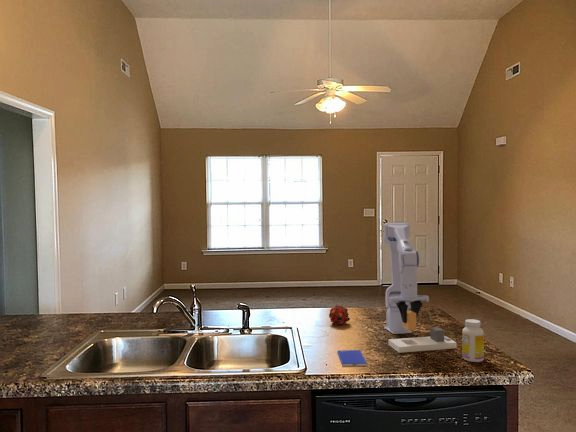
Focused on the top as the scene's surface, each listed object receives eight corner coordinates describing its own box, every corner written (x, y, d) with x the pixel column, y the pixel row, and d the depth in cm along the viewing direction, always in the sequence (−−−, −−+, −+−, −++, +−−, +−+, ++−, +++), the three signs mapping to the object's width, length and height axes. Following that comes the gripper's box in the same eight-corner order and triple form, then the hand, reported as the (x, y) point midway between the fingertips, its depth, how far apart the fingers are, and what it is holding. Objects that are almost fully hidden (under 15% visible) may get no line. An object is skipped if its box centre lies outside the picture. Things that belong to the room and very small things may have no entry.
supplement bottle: (485, 357, 152) (485, 319, 151) (482, 364, 146) (482, 324, 146) (464, 354, 155) (464, 317, 155) (460, 360, 149) (460, 322, 149)
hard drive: (337, 350, 158) (341, 363, 146) (360, 349, 159) (367, 362, 146) (337, 354, 158) (341, 368, 146) (360, 354, 159) (367, 367, 146)
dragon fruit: (340, 323, 203) (341, 335, 191) (324, 312, 203) (324, 323, 191) (351, 308, 201) (353, 319, 190) (336, 298, 201) (336, 308, 189)
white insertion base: (388, 344, 167) (388, 328, 167) (443, 340, 171) (443, 324, 171) (399, 352, 158) (398, 335, 158) (456, 348, 162) (456, 331, 162)
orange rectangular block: (402, 327, 165) (402, 310, 165) (410, 326, 165) (410, 310, 165) (408, 330, 161) (408, 313, 160) (416, 330, 161) (416, 313, 161)
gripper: (394, 287, 157) (394, 326, 158) (433, 285, 160) (433, 323, 161) (386, 283, 164) (386, 321, 165) (423, 282, 167) (423, 318, 168)
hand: (409, 322), depth 163 cm, fingers closed on orange rectangular block, 3 cm apart
